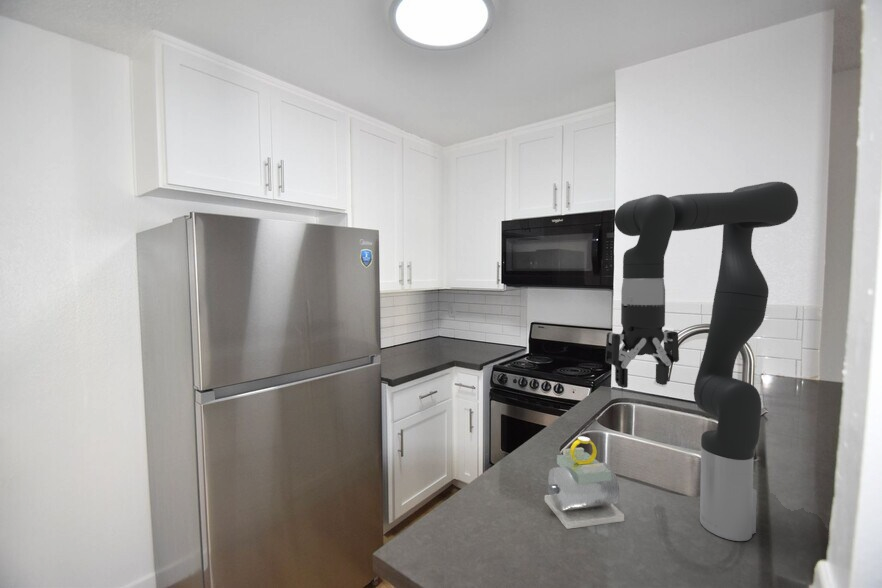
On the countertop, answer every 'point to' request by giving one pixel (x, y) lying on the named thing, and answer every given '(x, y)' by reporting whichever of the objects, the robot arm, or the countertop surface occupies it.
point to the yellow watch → (585, 441)
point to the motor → (583, 491)
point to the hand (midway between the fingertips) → (641, 385)
